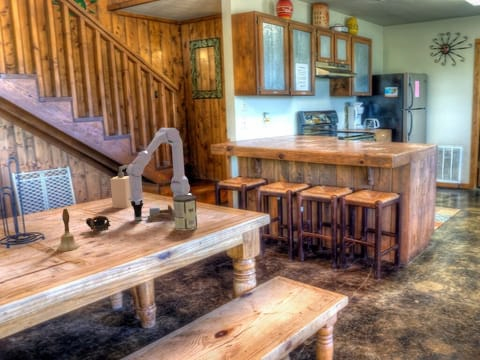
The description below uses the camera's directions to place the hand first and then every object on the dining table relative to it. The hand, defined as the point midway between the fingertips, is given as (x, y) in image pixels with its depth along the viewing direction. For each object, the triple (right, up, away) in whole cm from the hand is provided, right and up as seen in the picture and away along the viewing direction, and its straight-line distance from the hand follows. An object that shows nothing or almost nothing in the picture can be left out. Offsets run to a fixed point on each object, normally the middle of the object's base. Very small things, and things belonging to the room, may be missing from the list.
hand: (137, 216), depth 214 cm
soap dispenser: (-15, +3, +34) cm, 37 cm away
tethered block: (+4, -1, +1) cm, 5 cm away
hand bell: (-19, -10, -39) cm, 44 cm away
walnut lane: (+11, -1, +3) cm, 11 cm away
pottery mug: (-14, -6, -17) cm, 22 cm away
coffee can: (+25, -4, -15) cm, 30 cm away
